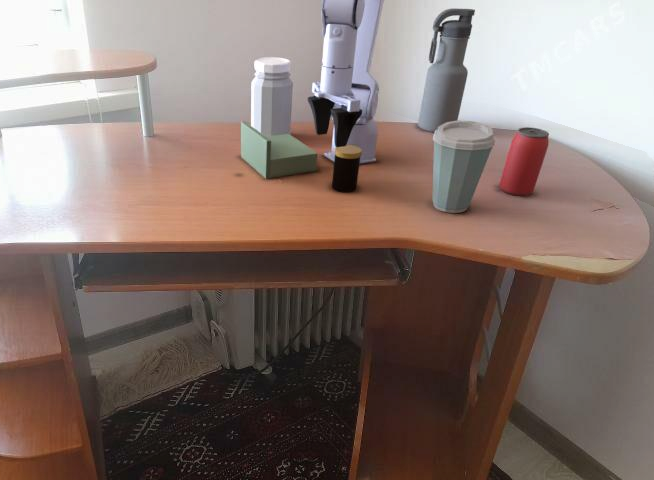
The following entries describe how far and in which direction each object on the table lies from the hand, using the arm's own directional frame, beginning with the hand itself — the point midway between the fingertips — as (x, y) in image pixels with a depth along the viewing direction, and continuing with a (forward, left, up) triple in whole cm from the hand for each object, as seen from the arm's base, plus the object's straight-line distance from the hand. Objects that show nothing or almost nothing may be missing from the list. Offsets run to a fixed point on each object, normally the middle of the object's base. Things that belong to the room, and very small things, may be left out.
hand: (330, 139), depth 106 cm
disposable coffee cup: (-17, +17, -10) cm, 26 cm away
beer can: (-35, +16, -10) cm, 40 cm away
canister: (-3, +2, -10) cm, 10 cm away
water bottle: (-46, -24, -10) cm, 53 cm away
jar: (-2, -32, -10) cm, 33 cm away
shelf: (+4, -15, -10) cm, 18 cm away
